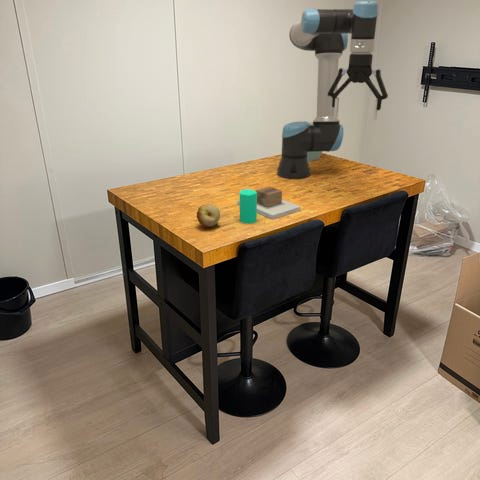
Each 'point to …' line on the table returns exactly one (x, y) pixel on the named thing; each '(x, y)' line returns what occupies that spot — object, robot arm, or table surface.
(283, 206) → the slab
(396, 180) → the table surface
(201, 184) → the table surface
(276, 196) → the walnut block
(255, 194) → the candle
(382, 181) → the table surface
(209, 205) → the fruit
